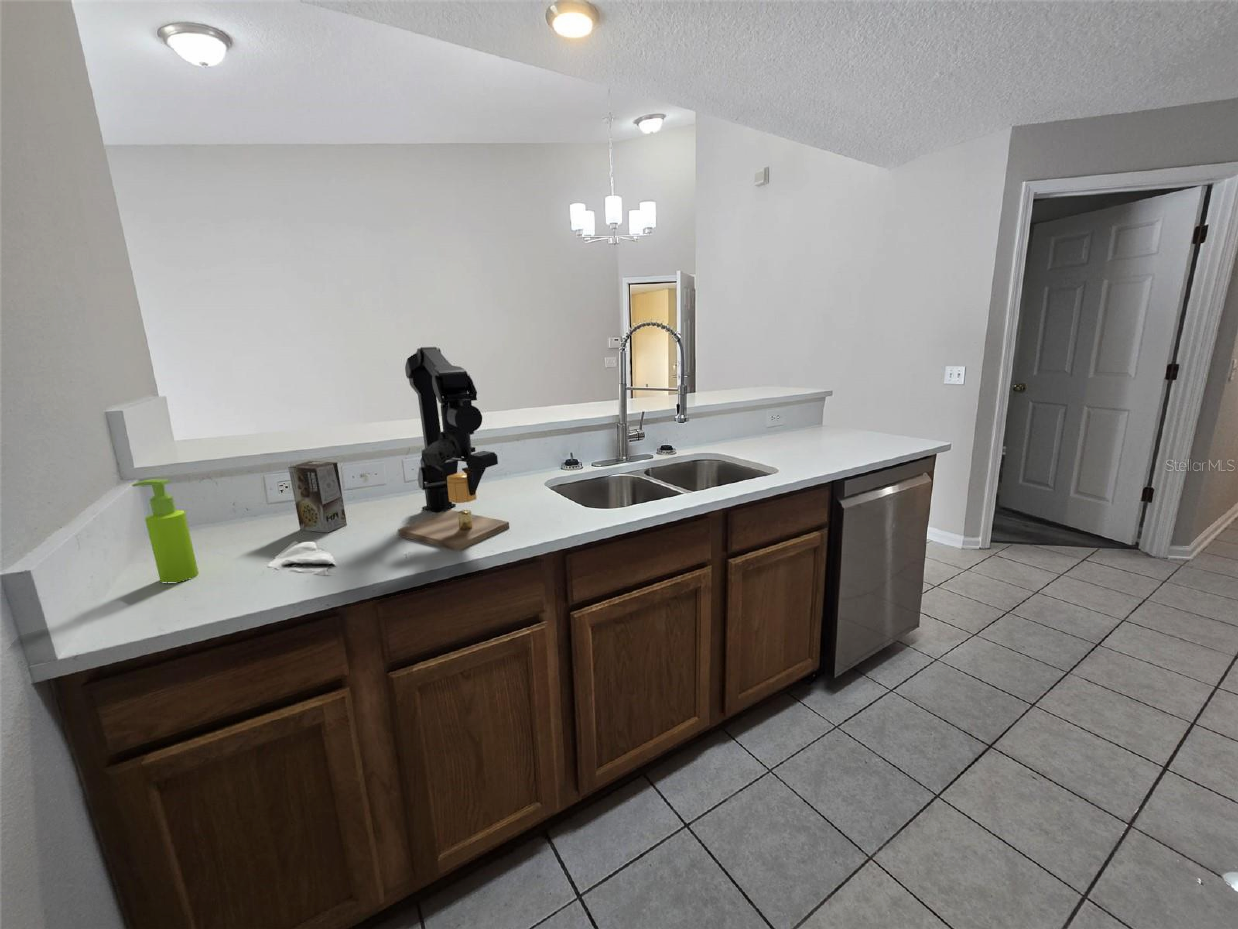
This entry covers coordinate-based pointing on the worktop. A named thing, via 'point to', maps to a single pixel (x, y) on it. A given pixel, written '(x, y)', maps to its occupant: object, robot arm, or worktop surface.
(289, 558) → the cloth
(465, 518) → the post
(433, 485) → the robot arm
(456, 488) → the cap
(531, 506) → the worktop surface
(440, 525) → the wooden board
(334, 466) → the coffee box
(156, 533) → the soap dispenser
